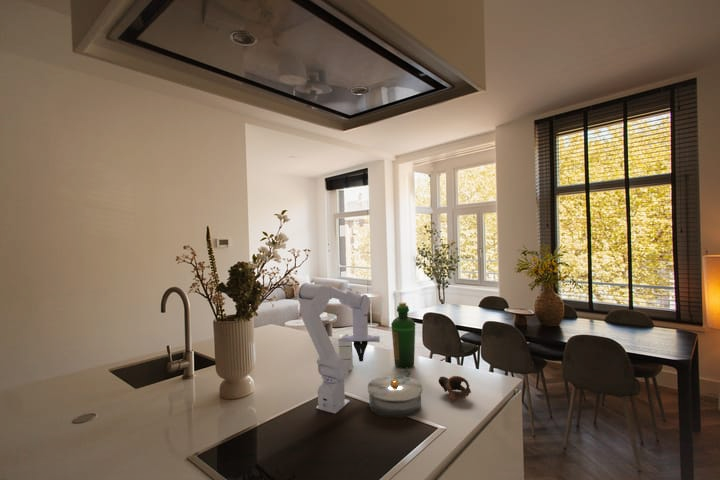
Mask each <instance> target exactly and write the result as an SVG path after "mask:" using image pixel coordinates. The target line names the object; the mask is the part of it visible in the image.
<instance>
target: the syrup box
mask: <svg viewBox="0 0 720 480" xmlns="http://www.w3.org/2000/svg"><path fill="white" fill-rule="evenodd" d="M351 335H352V333H350V334H349V333H343V334H339V335H338V338H337V340H338V341H337V342H338V344H337V345H338V354H339V355H340V356H341V357H343V359H344V361H345V362H347V363H348V366H349V372H350V371H353V367H354V359H353V358H354V357H353V342H342V336H351Z"/></svg>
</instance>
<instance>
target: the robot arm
mask: <svg viewBox="0 0 720 480" xmlns="http://www.w3.org/2000/svg"><path fill="white" fill-rule="evenodd" d="M296 299H297V301H298V302H299V303H298V304H299V305H300V315H301V318H302V323H304V326H305V328H306V330H307V332H308V335H309V337H310V339H311V341H312V343H313V345H314V347H315V350H316V352H317V354H318V358H317V360H316V363H317V372H318V375H321V379H322V380H323V381H322V383H321V385H320V386H319V387H318V389H317V406H316V407H315V409H317V410H321V411H324V412H328V413H332V414H336V413H338V412H339V411H340V410H342V409H343V408H344V407H346V405H347V404H349V403H350V402H351V400H349V399H346V398H345V397H346V395H345V380H346V379H347V377H348V376H349V372H350V371H349V366H348V363H347V362H345V361H344V359H343V357H341V356H340V355H339V352H336V349H335V347H334V345H333V343H332V340H331V338H330V336H329V334H328V332H327V329H326V327H325V325H324V322H323V320H322V317H321V315H322V314H323V313H324V312H325V309H326V308H327V306H328V304H329V302H330V300H332V299H335V300H339V303H340V304H341V305H344V306H347V307H349V308H350V309H352V313H351V314H352V334H351V336H342V342H352V346H353V347H354V349H355V352H356V353H357V356H358V360H359V362H364V357H365V355H364V354H365V352H366V349H367V347H368V343H380V342H381V341H380V337H381V336H380V335H371V334H369V330H368V329H369V325H368V322H369V321H368V320H369V319H368V314H369V310H370V309H369V308H370V305H371V301H370V297H369V296H368V295H367V294H360V292H359V291H354V290H353V289H352V288H344V289H342V290H341V289H339V288H337V287H334V286H332V285H328V284H316V283H315V284H313V283H308V282H305V283H303V284H301V285H300V287H299V289H298V291H297V295H296Z"/></svg>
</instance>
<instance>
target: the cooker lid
mask: <svg viewBox="0 0 720 480" xmlns="http://www.w3.org/2000/svg"><path fill="white" fill-rule="evenodd" d="M411 374H412V370H411V369H404V370H403V371H402V372H401V373H400V375H397V374H396V375H390V374H389V375H384V376H383V375H381V376H379V377H376V378H374V379H372V380H371V381H370V382H368V384H367V392H368V394H370V395H371V396H372V397H374V398H376V399H378V400H381V401H386V402H406V401H410V400H413V399H415V398H417V397H419V396H420V395H421V396H422V393H423V386H422V384H421V382H420V381H418V380H417V379H415V378H412V377H410V376H411Z"/></svg>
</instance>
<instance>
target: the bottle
mask: <svg viewBox="0 0 720 480" xmlns="http://www.w3.org/2000/svg"><path fill="white" fill-rule="evenodd" d="M398 304H399V305H397V307H396V312H397V314H398V315H397V317H396V318H394V319H393V320H392V322H391V324H390V325H391V335H392V336H391V337H392V348H393V359H394V366H395V367H396V368H399V369H404V370H407V369H411V368H413V367H414V366H415V351H416V349H415V348H416V346H415V345H416V322H415V321H414V320H413V319H412V318H411V317H409V315H408V314H409V312H410V310H409V309H410V308H409V305H408V304H407V302H398Z"/></svg>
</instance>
